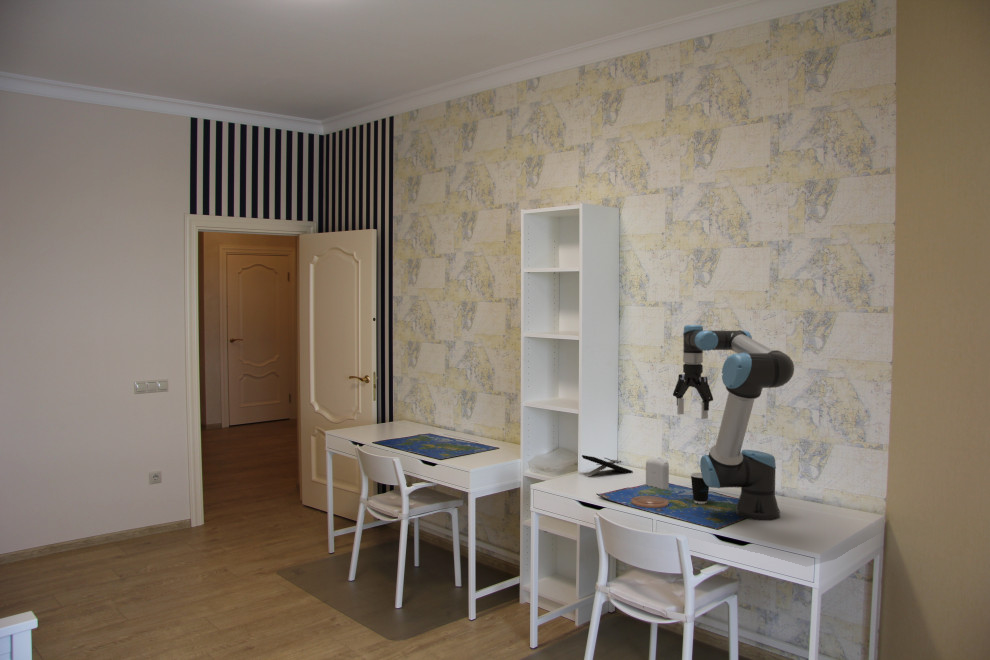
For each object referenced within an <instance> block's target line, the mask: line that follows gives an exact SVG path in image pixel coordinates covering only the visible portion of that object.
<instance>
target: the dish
mask: <svg viewBox="0 0 990 660" xmlns="http://www.w3.org/2000/svg"><path fill="white" fill-rule="evenodd" d="M630 501H631V502H630V503H631V504H632V505H633V506H635V507H636V506H637V507H639V508H640V507H641V508H647V509H648V508H649V509H660V508H661V509H662V508H665V507H668V506H669V505H668V504H670V503H669V502H670V501H669V500H668V499H666V498H664V497H660V496H653V495H637V496H635V497H632V498H631V500H630Z"/></svg>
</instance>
